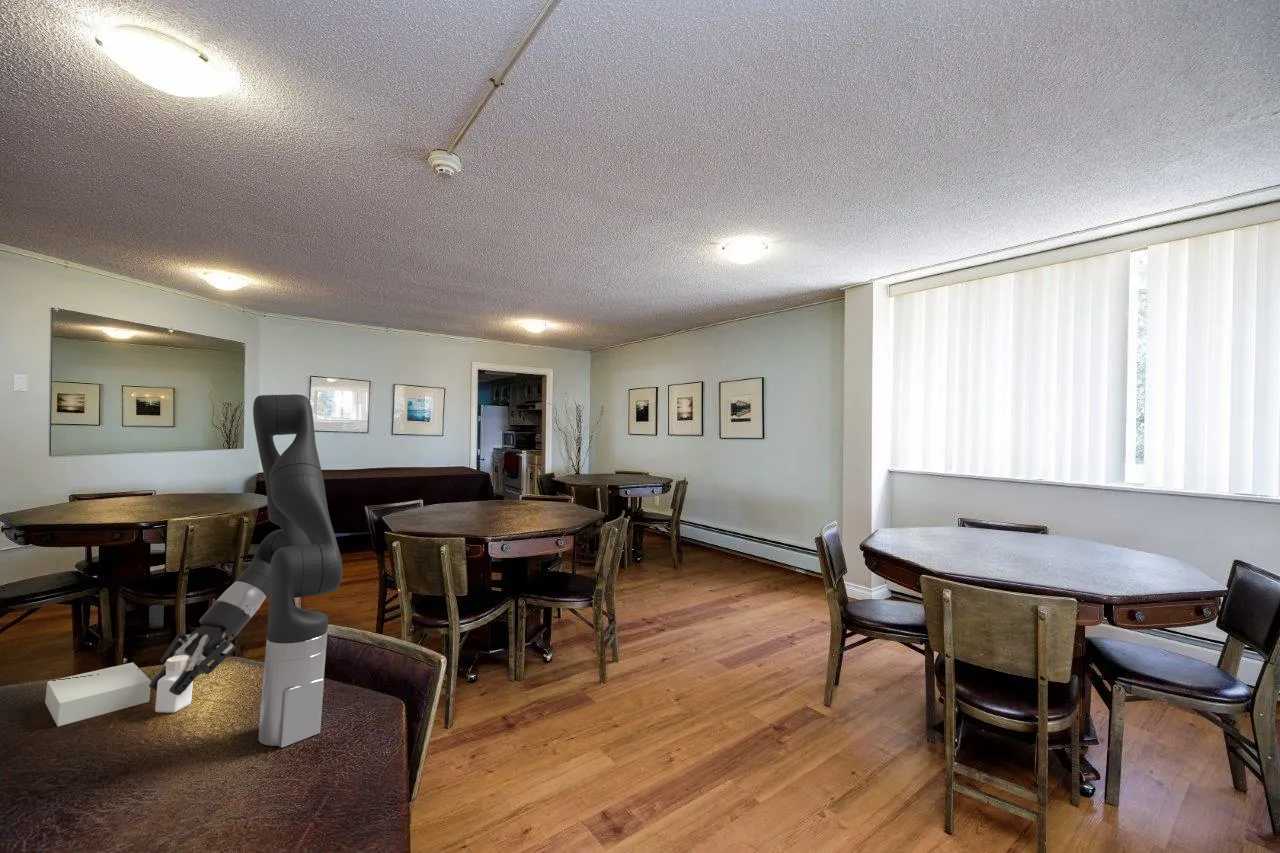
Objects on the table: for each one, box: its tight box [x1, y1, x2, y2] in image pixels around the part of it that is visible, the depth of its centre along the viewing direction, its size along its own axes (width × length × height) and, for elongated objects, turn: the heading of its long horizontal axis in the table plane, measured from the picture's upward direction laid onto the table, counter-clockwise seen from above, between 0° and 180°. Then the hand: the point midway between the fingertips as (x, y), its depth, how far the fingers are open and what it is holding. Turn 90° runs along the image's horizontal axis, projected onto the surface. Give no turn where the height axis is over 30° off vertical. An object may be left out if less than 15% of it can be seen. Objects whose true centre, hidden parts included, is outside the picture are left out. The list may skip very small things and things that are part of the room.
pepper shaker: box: [154, 654, 194, 714], centre depth 98 cm, size 4×4×10 cm
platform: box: [44, 662, 152, 727], centre depth 99 cm, size 14×12×4 cm
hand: (164, 690), depth 96 cm, fingers closed on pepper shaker, 4 cm apart
